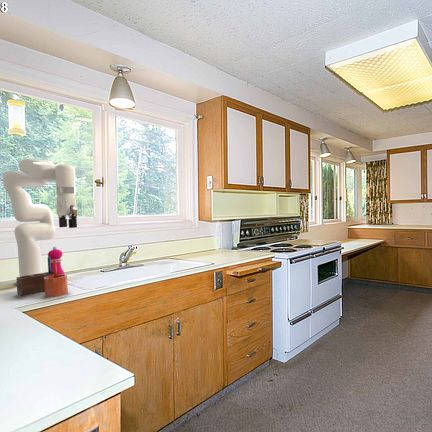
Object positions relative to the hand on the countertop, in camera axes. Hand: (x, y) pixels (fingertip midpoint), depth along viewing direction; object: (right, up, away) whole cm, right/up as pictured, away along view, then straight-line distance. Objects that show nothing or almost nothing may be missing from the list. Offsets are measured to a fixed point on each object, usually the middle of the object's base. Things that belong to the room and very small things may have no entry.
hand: (68, 227), depth 150 cm
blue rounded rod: (-9, -30, +1) cm, 31 cm away
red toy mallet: (0, -30, -8) cm, 31 cm away
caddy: (-12, -31, -3) cm, 33 cm away
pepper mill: (-14, -30, +12) cm, 35 cm away
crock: (+1, -31, -8) cm, 32 cm away
